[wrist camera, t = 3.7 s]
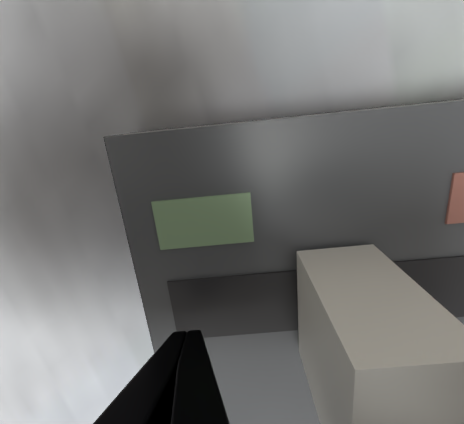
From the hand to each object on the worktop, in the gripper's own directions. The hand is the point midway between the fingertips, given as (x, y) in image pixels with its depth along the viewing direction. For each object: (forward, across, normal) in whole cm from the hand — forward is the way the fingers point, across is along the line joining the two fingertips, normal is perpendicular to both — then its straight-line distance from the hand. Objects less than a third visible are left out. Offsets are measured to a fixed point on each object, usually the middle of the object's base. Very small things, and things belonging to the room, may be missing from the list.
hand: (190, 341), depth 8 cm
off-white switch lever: (+1, -5, 0) cm, 5 cm away
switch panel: (+4, -5, +6) cm, 9 cm away
